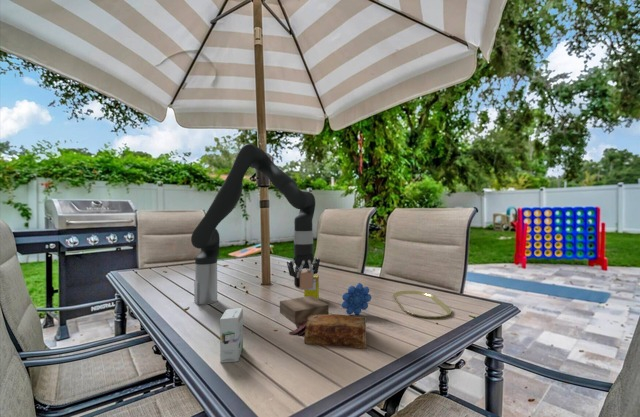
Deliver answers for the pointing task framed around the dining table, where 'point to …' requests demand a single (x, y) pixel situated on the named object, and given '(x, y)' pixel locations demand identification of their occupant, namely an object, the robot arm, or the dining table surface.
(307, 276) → the terracotta block
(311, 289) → the supplement box
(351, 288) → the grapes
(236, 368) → the dining table surface
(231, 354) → the ink box
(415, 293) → the yellow oval ring
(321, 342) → the cured meat
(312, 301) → the walnut block
